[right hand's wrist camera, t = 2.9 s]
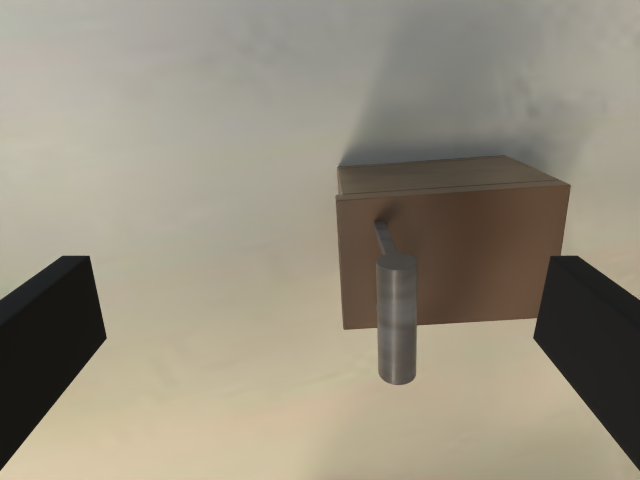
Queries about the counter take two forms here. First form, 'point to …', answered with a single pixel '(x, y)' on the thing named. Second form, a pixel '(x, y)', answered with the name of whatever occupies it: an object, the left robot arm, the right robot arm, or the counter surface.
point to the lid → (444, 259)
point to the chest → (435, 174)
